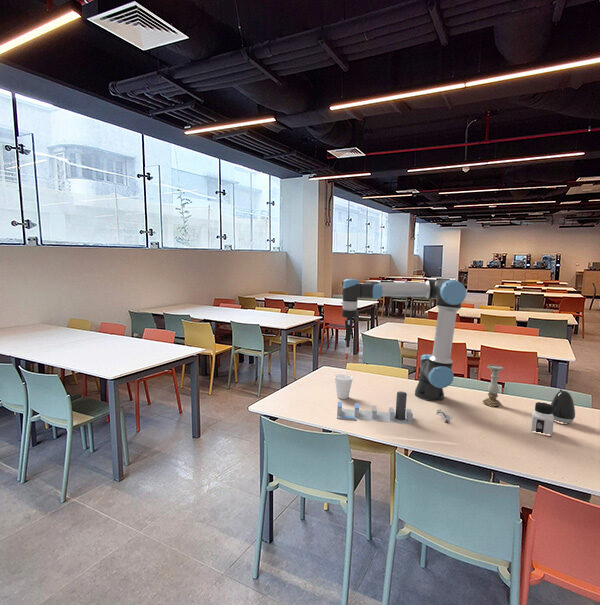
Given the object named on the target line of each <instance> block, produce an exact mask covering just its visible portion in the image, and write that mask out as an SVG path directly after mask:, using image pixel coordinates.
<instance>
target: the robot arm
mask: <svg viewBox="0 0 600 605" xmlns="http://www.w3.org/2000/svg"><path fill="white" fill-rule="evenodd" d="M466 296H467V290H466V287H465V285H464V284H463V283H461V282H460V281H458V280H456V279H448V278H447V279H446V278H442V279H433V280H426V281H425V282H424V281H422V282H421V281H420V282H419V281H417V282H412V281H411V282H410V281H409V282H408V281H407V282H401V281H399V282H395V281H394V282H393V281H392V282H391V281H388V282H387V281H386V282H385V281H381V282H380V281H378V282H374V281H373V282H371V281H365V282H363V283H361V282H359V279H355V278H345V279H344V280H343V285H342V302H341V303H340V304H341V305H342V310H341V317H343V318H346V319H345V320H344V324H345V327H344V328H345V338H343V340H344V354H351V347H352V336H353V334H354V333H353V332H352V330H353V325H354V320H353V319H355V318H357V316H358V310H357V309H358V304H359V303H358V299H370V300H371V299H372V300H377V299H378V300H379V299H381V298H382V297H419V298H420V297H422V298H423V297H425V299H433V300H436V302H435V305H436V308H437V309H438V311H437V318H436V327H435V334H434V341H433V347H432V348H433V349H432V353H431V354H428V353H427V354H425V353H424V354H422V355H421V356H420V363H419V364H420V366H419V377H418V378H419V379H418V383H417V386H416V387H415V390H414V396H415V397H417V398H419V399H422V400H426V401H434V402H436V401H437V402H439V401H442V400H444V399H445V391H444V388H447V387H449V386H450V385H451V384H453V381H454V378H455V376H454V372H453V363H454V361H453V360H452V358H451V355H452V348H453V341H454V335H455V334H454V333H455V327H456V321H457V313H458V311H459V310H461V309H462V303H463V301H464V300H465V299H466Z"/></svg>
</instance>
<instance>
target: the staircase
mask: <svg viewBox="0 0 600 605" xmlns="http://www.w3.org/2000/svg"><path fill="white" fill-rule="evenodd" d="M435 414H436V415H438V416H440V417H441V418H442V419H443V421H444V423H445V424H451V421H452V419H454V417H453V416H452V415H450V414H448V413H446V412H444V411H442V409H441V408H440V409H436V412H435ZM448 422H449V423H448Z"/></svg>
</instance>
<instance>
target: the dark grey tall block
mask: <svg viewBox="0 0 600 605" xmlns="http://www.w3.org/2000/svg"><path fill="white" fill-rule="evenodd" d="M407 396H408V394H407V392H405V391H397V392H396V398H395V399H396V400H395V401H396V402H395V413H396V414H395V418H396V419H398V420H405V414H406V409H407Z"/></svg>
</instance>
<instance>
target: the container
mask: <svg viewBox="0 0 600 605" xmlns="http://www.w3.org/2000/svg"><path fill="white" fill-rule="evenodd" d="M552 413H553V406H552V405H551V403H548V402H545V401H544V402H543V401H537V402H536V403H535V406H534V410H533V411H532V416H531V425H530V432H531V431H536V432H541V433H545V434H550V435H552V436H553V432H554V423H555V421H554V418H553V415H552Z"/></svg>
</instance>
